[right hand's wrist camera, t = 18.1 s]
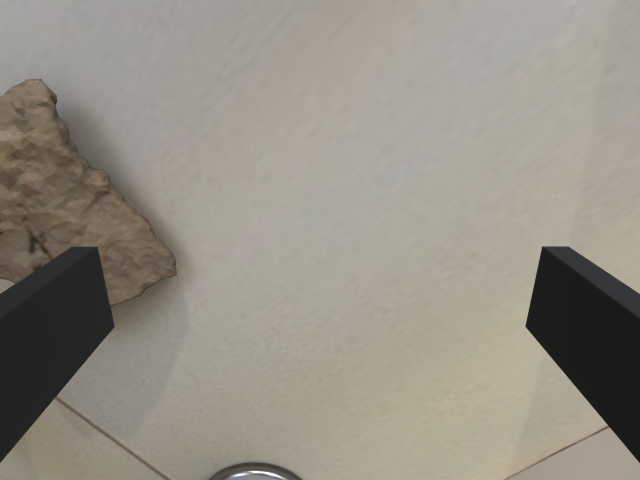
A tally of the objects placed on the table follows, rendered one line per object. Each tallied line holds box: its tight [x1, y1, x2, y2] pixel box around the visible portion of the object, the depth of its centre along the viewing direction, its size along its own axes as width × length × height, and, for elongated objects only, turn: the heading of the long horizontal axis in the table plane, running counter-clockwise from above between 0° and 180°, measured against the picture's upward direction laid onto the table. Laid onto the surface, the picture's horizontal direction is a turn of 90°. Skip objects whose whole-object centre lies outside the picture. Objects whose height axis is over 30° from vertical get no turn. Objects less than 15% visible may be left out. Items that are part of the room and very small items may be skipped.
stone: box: [0, 79, 177, 307], centre depth 38 cm, size 21×15×6 cm
